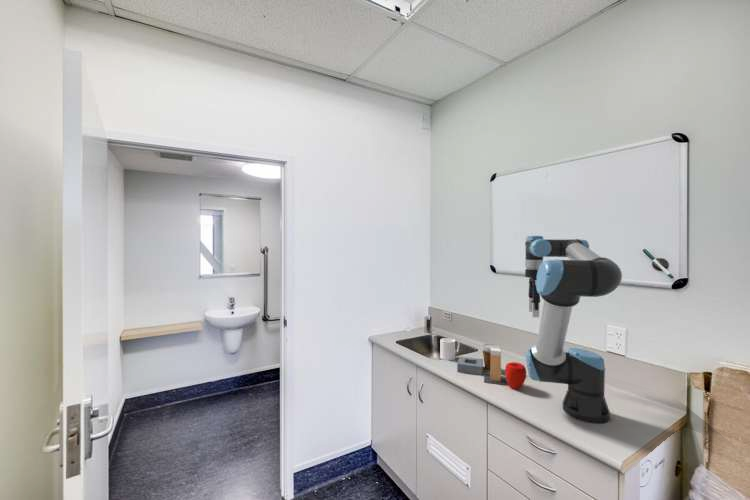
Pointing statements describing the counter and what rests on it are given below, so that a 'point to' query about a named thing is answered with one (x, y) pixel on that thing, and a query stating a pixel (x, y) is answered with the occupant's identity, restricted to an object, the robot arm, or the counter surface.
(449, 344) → the cup
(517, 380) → the apple
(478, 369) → the gray square block
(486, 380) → the pad
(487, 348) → the disposable coffee cup
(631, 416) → the counter surface
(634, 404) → the counter surface
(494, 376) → the tall drinking glass
